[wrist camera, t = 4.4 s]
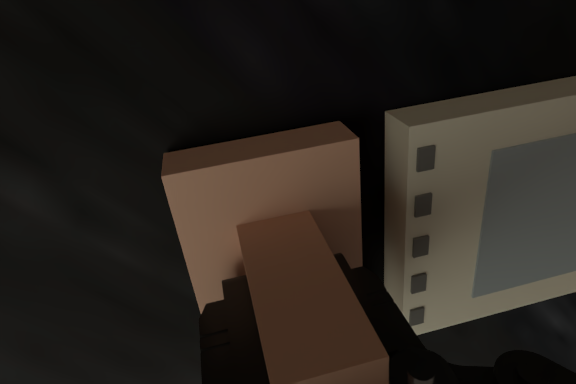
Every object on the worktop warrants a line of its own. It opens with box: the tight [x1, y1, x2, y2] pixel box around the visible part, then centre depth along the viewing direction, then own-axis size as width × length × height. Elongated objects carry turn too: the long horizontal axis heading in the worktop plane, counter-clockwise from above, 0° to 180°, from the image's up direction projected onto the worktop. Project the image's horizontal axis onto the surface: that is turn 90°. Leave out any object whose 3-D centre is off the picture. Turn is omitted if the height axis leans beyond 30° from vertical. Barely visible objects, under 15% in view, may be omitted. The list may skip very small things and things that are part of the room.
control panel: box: [384, 76, 576, 335], centre depth 14 cm, size 8×8×2 cm
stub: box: [161, 121, 389, 384], centre depth 11 cm, size 5×8×6 cm, turn 6°
